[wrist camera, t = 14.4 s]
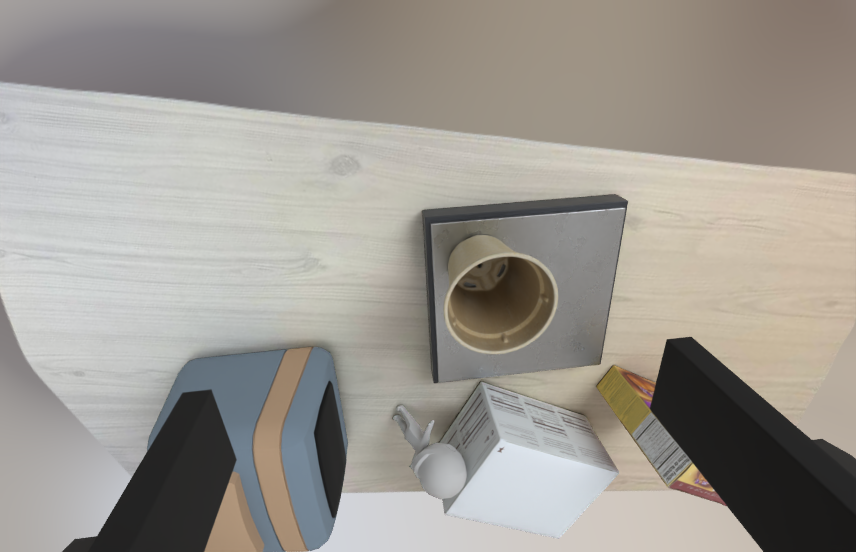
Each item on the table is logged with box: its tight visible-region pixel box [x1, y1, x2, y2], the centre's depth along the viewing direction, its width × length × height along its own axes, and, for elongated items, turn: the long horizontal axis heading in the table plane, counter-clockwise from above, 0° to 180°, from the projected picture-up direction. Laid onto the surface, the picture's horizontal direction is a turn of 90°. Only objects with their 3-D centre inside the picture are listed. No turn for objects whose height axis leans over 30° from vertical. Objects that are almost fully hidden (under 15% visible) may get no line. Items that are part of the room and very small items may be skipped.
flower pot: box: [443, 235, 558, 354], centre depth 38 cm, size 9×9×9 cm
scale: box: [422, 194, 628, 383], centre depth 46 cm, size 20×20×3 cm
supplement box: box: [440, 382, 619, 539], centre depth 53 cm, size 17×13×9 cm
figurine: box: [393, 405, 467, 499], centre depth 49 cm, size 8×5×12 cm
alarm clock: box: [147, 347, 348, 552], centre depth 43 cm, size 16×16×16 cm
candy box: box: [596, 365, 727, 506], centre depth 49 cm, size 9×4×15 cm, turn 62°
